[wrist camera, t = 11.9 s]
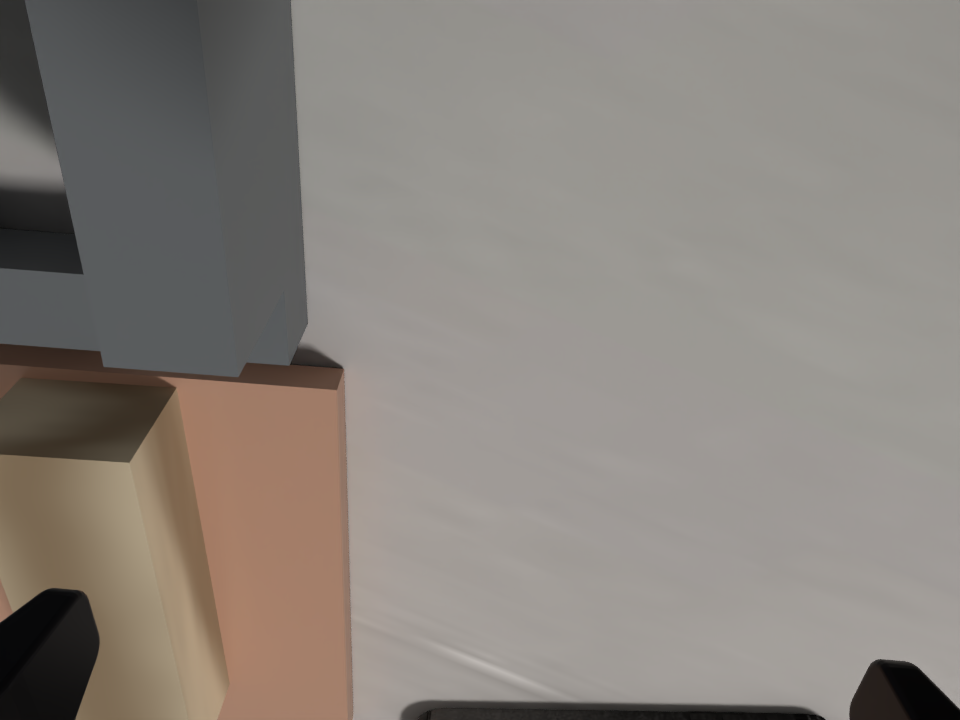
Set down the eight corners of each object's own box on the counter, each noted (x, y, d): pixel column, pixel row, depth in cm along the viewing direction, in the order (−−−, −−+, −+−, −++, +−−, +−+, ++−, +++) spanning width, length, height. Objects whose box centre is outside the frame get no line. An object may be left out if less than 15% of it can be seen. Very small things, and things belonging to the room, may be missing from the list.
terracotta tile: (344, 369, 21) (336, 390, 21) (353, 714, 29) (348, 740, 29) (-111, 333, 21) (-136, 353, 21) (22, 689, 29) (8, 714, 29)
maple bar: (176, 387, 21) (129, 462, 18) (229, 683, 27) (200, 769, 25) (21, 377, 21) (-48, 451, 18) (110, 675, 27) (68, 760, 25)
